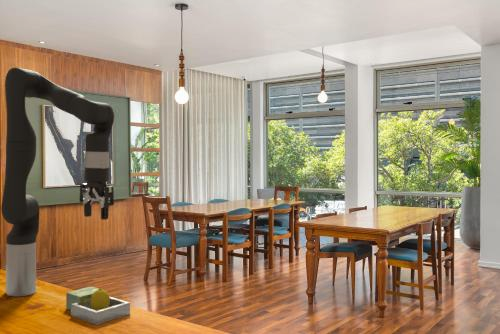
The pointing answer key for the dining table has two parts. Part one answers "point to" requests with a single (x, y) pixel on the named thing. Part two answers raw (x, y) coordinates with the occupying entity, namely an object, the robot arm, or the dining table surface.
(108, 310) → the square open box
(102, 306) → the lemon
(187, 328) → the dining table surface
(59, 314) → the dining table surface
